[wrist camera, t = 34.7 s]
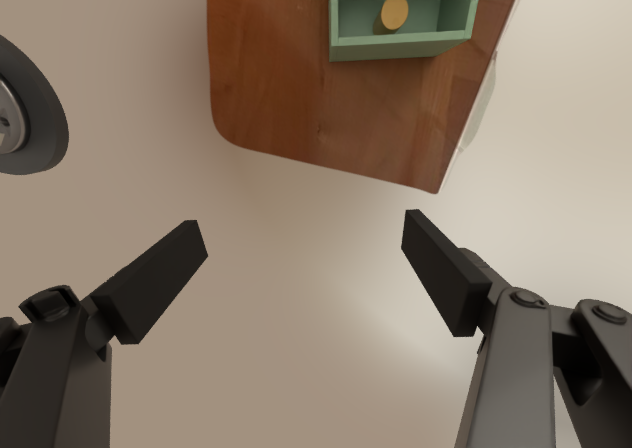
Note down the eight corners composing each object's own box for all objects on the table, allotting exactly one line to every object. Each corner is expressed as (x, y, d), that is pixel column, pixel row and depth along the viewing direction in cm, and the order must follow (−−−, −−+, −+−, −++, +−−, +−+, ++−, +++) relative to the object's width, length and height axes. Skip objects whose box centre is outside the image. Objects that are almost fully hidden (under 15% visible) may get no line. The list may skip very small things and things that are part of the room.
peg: (376, 45, 32) (385, 34, 28) (369, 18, 31) (378, 2, 26) (398, 34, 32) (411, 21, 27) (392, 7, 30) (405, -12, 26)
